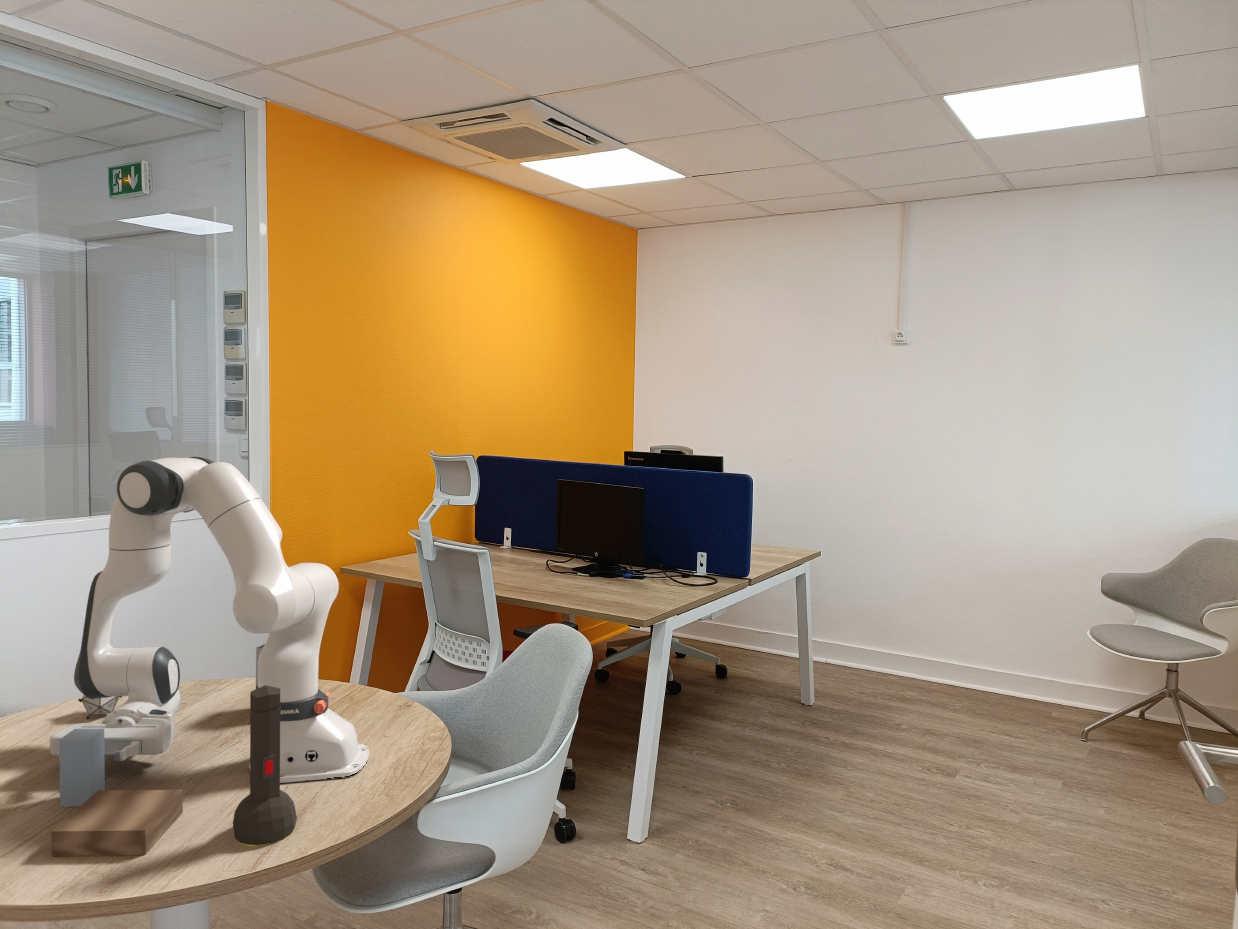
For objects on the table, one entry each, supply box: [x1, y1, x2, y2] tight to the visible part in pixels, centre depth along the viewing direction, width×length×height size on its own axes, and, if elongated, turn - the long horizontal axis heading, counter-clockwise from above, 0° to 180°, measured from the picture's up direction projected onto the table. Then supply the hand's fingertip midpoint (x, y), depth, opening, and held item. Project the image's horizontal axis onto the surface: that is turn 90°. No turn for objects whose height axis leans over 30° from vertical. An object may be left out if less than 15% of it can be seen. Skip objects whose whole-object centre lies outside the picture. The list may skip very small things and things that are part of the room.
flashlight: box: [232, 685, 298, 846], centre depth 142 cm, size 10×25×10 cm
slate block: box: [58, 729, 106, 807], centre depth 151 cm, size 5×5×12 cm
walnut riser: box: [51, 789, 184, 857], centre depth 141 cm, size 14×14×4 cm
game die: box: [77, 694, 123, 720], centre depth 191 cm, size 9×8×10 cm
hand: (91, 757), depth 154 cm, fingers open, 8 cm apart
